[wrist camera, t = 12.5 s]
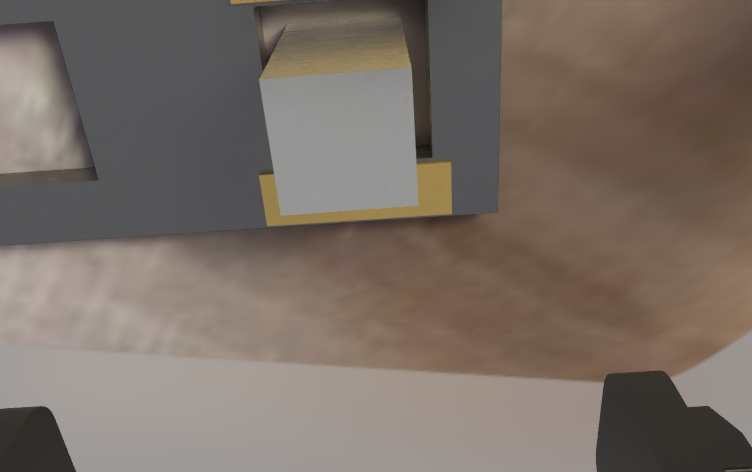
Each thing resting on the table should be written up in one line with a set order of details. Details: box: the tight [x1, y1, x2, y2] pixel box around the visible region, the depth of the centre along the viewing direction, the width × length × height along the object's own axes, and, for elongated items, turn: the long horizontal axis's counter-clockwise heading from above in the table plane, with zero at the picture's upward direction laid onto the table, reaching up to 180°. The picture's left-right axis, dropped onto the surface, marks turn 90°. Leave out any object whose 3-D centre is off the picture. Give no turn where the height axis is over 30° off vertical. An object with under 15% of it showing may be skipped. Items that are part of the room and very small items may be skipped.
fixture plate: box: [0, 0, 502, 245], centre depth 27 cm, size 26×12×2 cm, turn 94°
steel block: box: [259, 16, 419, 216], centre depth 24 cm, size 4×4×8 cm
